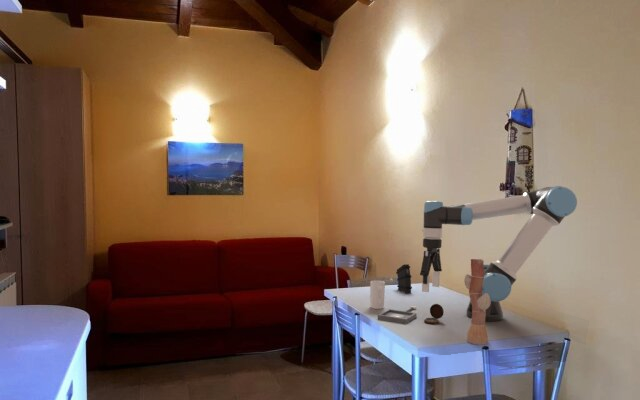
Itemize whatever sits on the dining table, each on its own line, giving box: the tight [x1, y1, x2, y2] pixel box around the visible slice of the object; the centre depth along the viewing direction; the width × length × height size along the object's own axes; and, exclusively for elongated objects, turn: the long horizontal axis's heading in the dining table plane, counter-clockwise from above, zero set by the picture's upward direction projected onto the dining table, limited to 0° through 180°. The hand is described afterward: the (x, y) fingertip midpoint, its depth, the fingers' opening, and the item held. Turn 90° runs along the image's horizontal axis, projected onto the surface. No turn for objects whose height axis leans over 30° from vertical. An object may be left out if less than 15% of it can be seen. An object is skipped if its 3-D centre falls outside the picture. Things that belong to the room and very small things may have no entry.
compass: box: [423, 303, 444, 325], centre depth 200 cm, size 8×8×7 cm
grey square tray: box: [377, 308, 418, 325], centre depth 206 cm, size 13×13×2 cm
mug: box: [369, 280, 386, 310], centre depth 224 cm, size 10×7×12 cm, turn 16°
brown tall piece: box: [463, 258, 491, 346], centre depth 176 cm, size 10×7×30 cm
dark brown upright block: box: [395, 264, 413, 294], centre depth 264 cm, size 4×13×15 cm, turn 14°
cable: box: [405, 305, 417, 312], centre depth 218 cm, size 2×14×1 cm, turn 149°
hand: (430, 289), depth 201 cm, fingers open, 13 cm apart
